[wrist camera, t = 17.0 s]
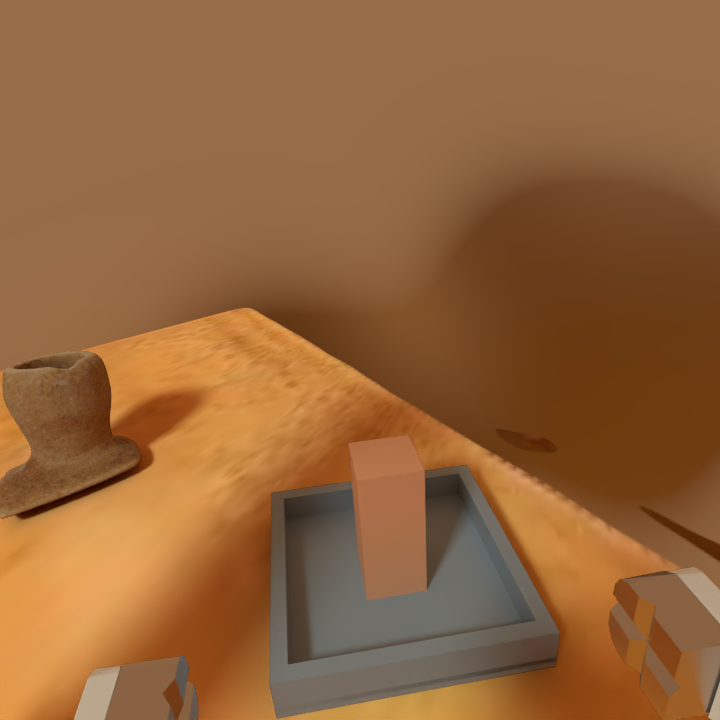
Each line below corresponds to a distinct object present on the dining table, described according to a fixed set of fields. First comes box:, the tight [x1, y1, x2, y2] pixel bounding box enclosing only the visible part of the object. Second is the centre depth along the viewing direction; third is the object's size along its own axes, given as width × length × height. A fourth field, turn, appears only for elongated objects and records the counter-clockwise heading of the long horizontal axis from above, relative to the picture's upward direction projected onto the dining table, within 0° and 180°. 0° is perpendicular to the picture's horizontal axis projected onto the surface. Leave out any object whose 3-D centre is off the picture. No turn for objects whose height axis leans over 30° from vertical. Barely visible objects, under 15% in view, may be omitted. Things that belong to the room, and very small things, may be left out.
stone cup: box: [0, 351, 141, 519], centre depth 61 cm, size 15×12×15 cm
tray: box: [270, 465, 560, 718], centre depth 46 cm, size 20×20×4 cm
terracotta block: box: [348, 435, 427, 601], centre depth 44 cm, size 5×5×12 cm
